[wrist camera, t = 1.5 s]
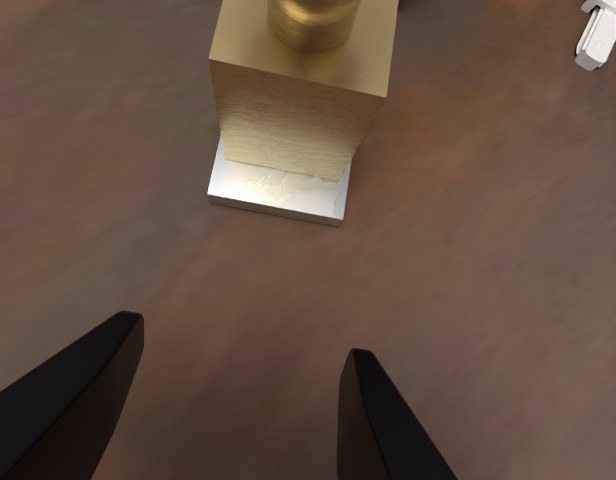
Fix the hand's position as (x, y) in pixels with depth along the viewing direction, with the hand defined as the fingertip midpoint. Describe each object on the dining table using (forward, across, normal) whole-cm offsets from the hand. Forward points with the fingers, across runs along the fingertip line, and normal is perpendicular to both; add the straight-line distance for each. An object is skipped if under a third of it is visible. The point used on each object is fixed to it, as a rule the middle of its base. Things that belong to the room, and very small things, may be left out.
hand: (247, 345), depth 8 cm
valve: (+17, 0, 0) cm, 17 cm away
